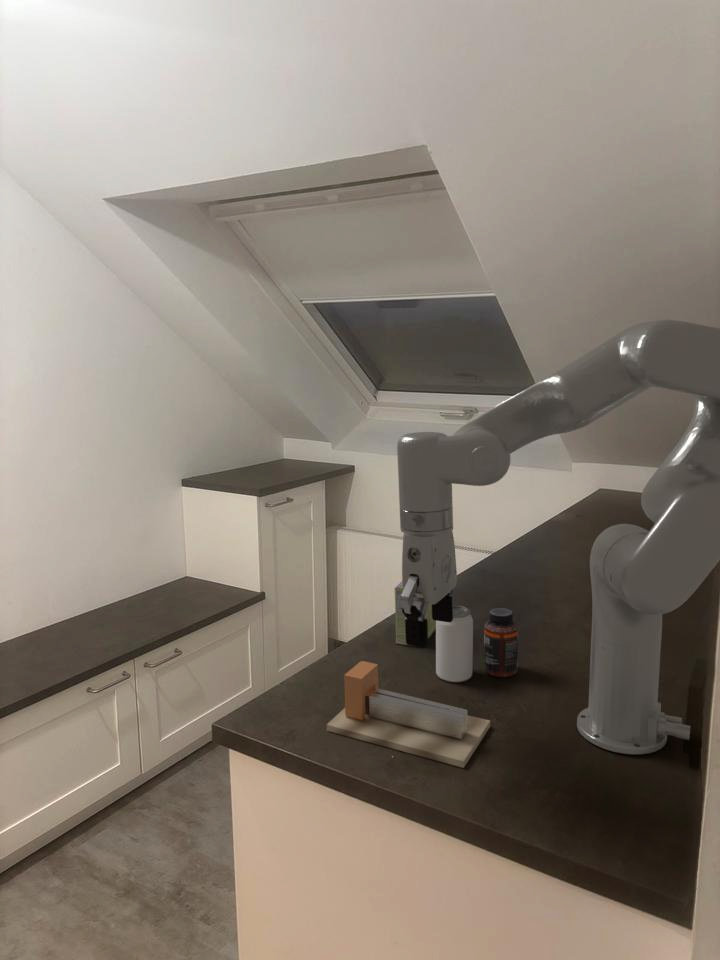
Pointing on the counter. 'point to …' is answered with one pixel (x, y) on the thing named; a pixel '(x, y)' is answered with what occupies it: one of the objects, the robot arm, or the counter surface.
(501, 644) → the supplement bottle
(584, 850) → the counter surface
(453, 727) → the jaw
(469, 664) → the can
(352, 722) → the tongs board
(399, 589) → the box
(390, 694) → the bar
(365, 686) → the orange notched block
